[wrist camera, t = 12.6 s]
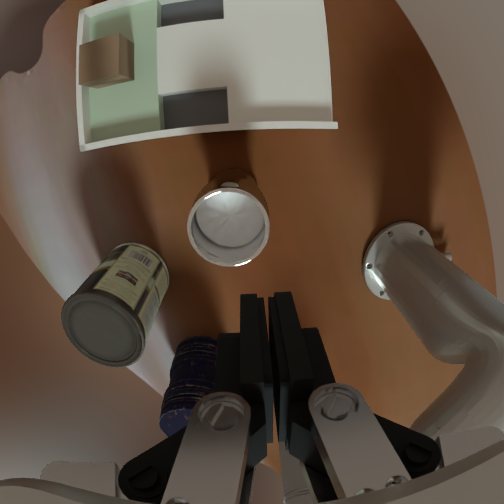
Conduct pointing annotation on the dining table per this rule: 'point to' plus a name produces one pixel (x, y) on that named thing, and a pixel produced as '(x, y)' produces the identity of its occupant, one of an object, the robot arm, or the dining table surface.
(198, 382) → the storage jar
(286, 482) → the water bottle
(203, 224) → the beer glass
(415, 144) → the dining table surface
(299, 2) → the box
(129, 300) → the coffee can
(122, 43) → the walnut block
